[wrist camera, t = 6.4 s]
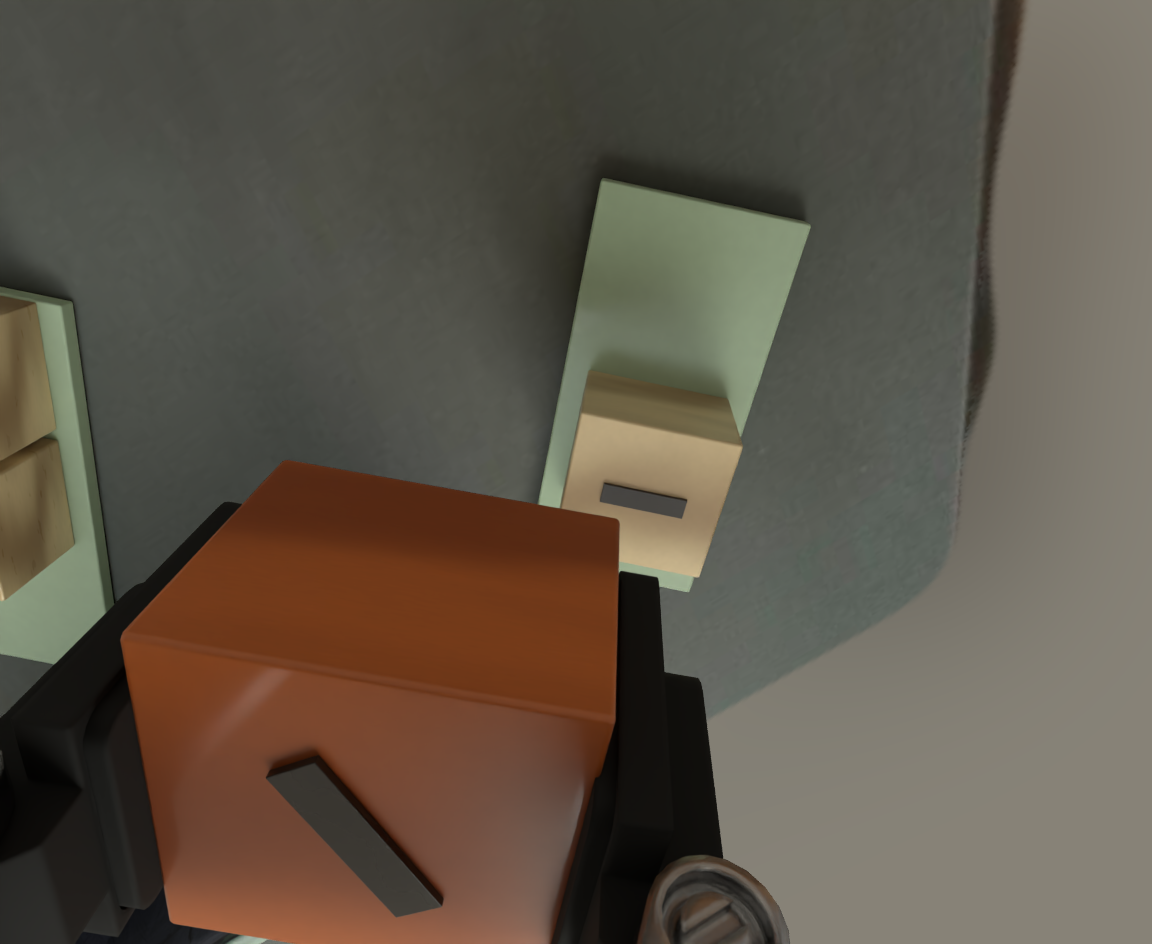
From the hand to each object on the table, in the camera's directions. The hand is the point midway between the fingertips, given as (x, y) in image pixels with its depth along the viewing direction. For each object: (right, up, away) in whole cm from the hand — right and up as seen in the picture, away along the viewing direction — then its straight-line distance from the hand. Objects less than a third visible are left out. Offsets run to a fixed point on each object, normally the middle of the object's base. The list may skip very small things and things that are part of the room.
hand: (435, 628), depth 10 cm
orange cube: (0, 0, 0) cm, 0 cm away
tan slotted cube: (+4, +3, +13) cm, 14 cm away
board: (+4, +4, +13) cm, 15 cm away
